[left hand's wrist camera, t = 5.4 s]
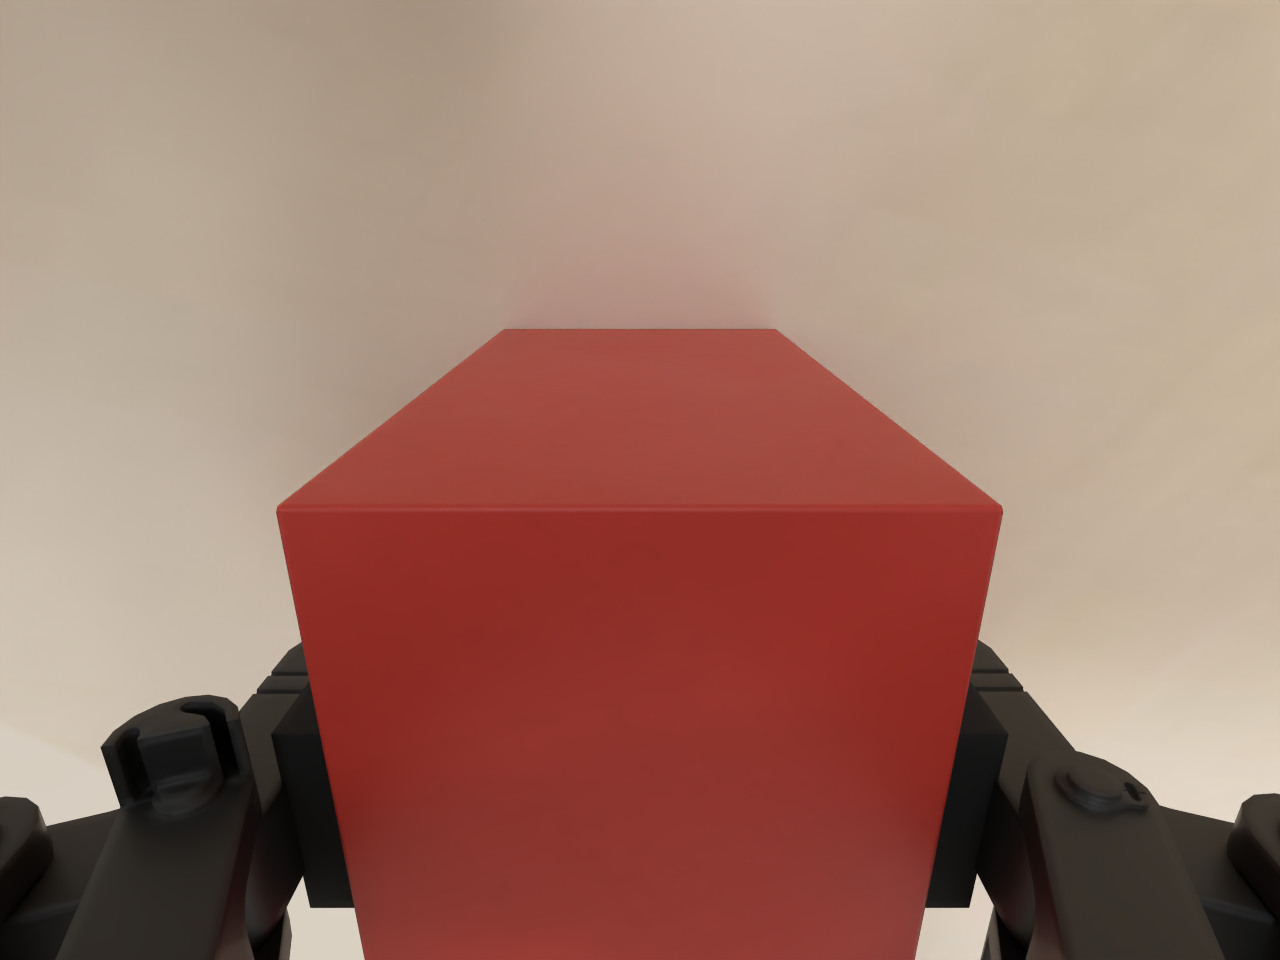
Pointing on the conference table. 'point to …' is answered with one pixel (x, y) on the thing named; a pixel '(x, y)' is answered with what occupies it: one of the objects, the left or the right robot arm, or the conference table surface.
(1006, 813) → the left robot arm
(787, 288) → the conference table surface
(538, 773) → the brick
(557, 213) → the conference table surface
